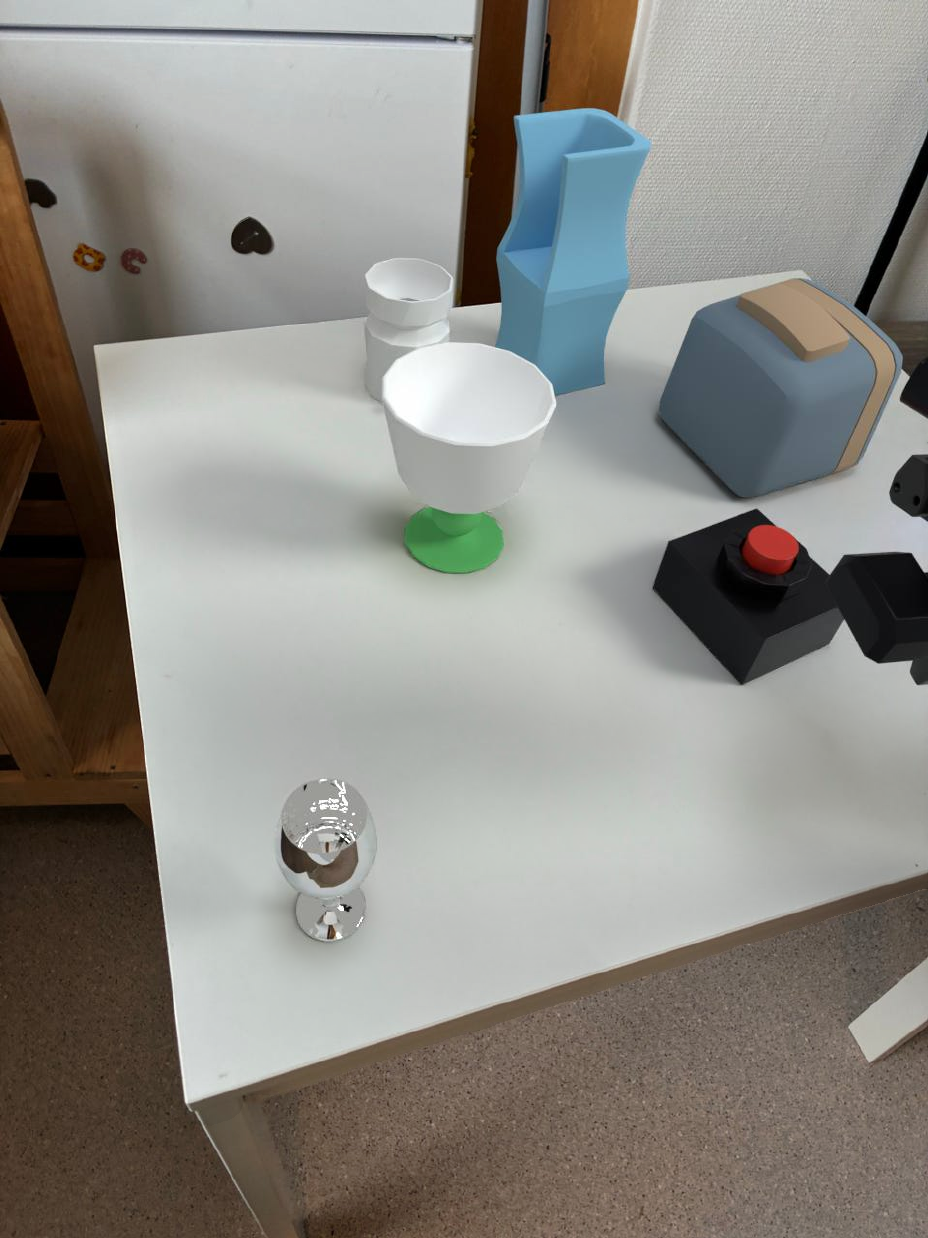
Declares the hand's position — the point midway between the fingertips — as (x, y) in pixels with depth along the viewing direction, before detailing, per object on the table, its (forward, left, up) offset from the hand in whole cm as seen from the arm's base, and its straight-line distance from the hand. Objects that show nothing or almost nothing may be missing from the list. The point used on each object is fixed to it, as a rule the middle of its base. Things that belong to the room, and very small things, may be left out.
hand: (917, 678), depth 58 cm
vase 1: (+25, -53, -13) cm, 60 cm away
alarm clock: (-10, -40, -13) cm, 43 cm away
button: (+1, -17, -6) cm, 18 cm away
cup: (+24, -29, -13) cm, 40 cm away
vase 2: (+9, -55, -13) cm, 57 cm away
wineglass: (+38, +4, -13) cm, 40 cm away
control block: (+1, -17, -13) cm, 21 cm away
